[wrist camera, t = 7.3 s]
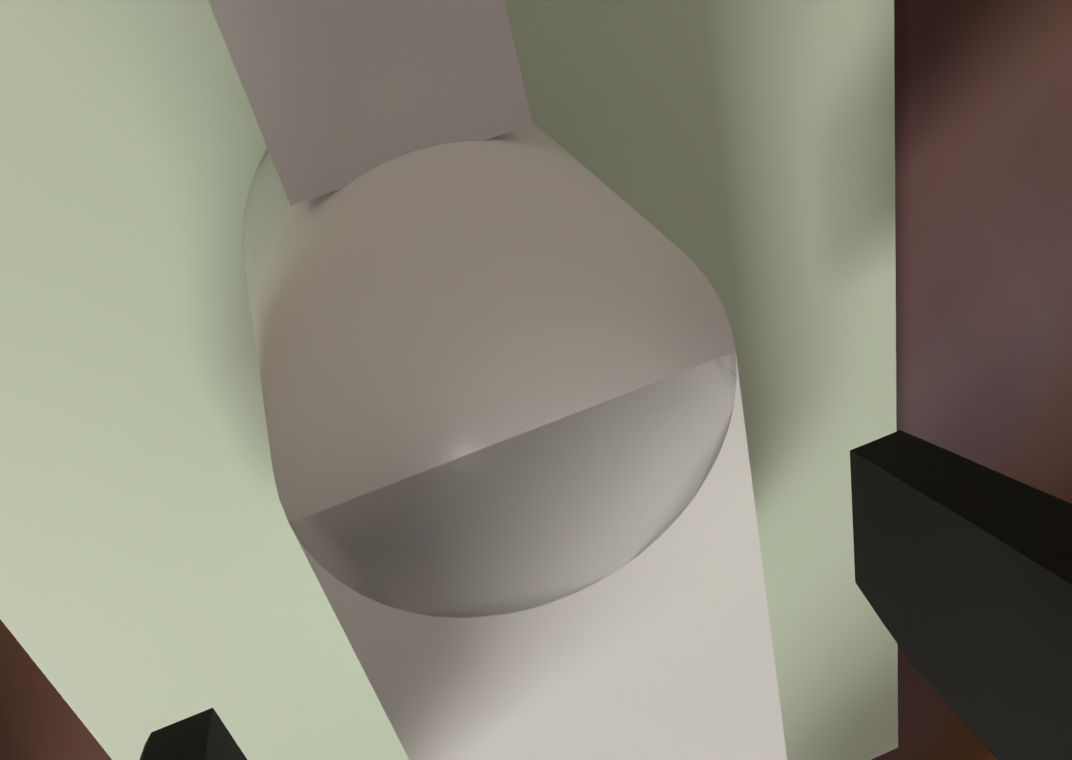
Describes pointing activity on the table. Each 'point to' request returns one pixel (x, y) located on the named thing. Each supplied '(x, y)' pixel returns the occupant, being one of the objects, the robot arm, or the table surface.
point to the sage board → (233, 372)
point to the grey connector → (494, 402)
